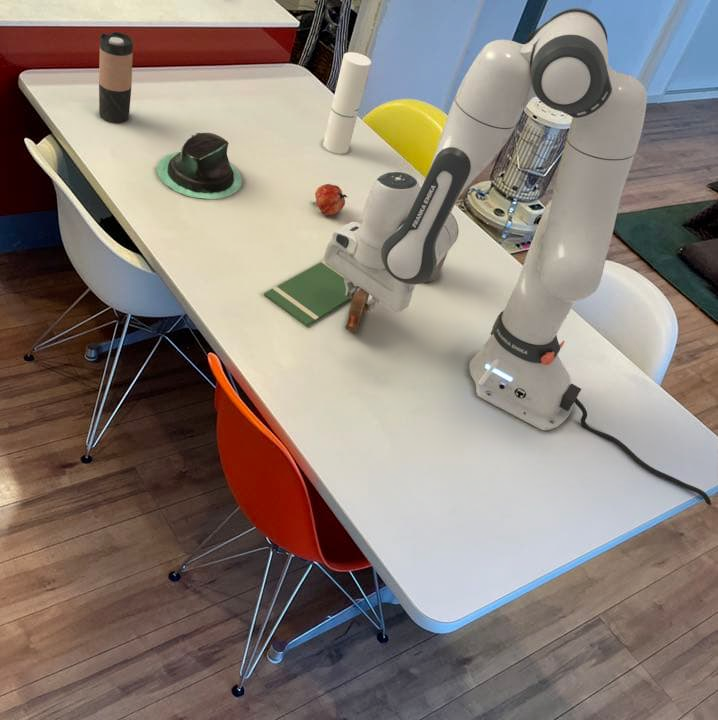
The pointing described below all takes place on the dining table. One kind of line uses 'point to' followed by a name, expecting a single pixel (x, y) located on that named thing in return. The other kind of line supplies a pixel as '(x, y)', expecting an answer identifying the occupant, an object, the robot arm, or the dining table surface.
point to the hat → (201, 168)
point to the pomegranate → (329, 199)
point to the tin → (357, 309)
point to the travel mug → (115, 76)
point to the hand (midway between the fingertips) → (359, 302)
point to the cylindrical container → (346, 102)
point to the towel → (310, 293)
